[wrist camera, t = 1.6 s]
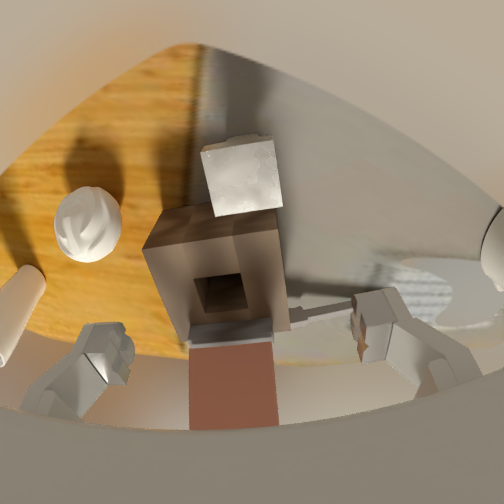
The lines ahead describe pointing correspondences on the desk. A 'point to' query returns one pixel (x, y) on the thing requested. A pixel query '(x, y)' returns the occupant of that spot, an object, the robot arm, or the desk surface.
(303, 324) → the caliper
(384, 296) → the robot arm
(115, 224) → the white ridged ball
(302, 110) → the desk surface
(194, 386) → the panel
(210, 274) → the block
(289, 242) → the desk surface
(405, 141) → the desk surface
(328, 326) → the desk surface
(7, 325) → the drinking glass
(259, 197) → the steel peg
